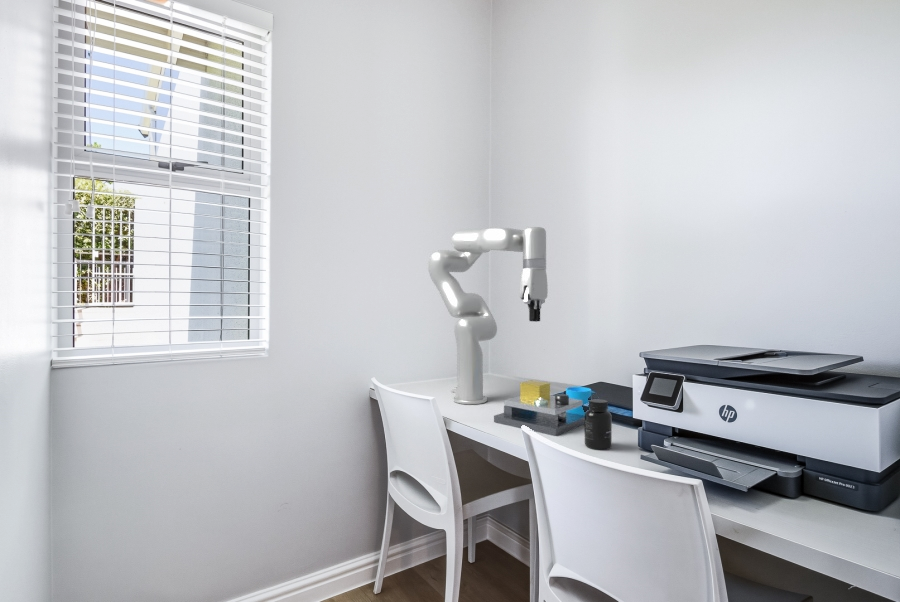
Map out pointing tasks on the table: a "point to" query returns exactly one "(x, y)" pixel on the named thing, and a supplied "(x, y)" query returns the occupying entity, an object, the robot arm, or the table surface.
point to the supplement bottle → (598, 425)
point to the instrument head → (542, 399)
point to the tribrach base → (540, 420)
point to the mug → (579, 397)
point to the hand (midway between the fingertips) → (534, 321)
